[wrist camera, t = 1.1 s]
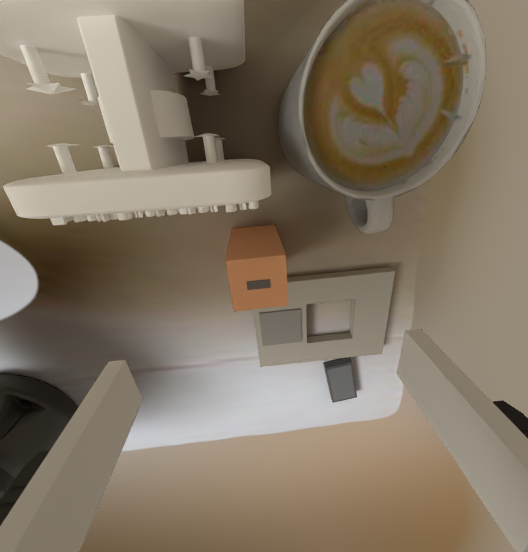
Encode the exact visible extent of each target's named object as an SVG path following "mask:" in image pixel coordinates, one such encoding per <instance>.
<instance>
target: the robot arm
mask: <svg viewBox="0 0 528 552" xmlns="http://www.w3.org/2000/svg"><path fill="white" fill-rule="evenodd" d="M397 375H398V376H399V378H400V379H401V381H402V382H403V384H404V385H405V386H406V388H407V389H408V391H409V392H410V394H411V395H412V397H413V398H414V400H415V401H416V403H417V404H418V406H419V407H420V409H421V410H422V412H423V413H424V415H425V416H426V418H427V419H428V421H429V422H430V424H431V425H432V427H433V428H434V430H435V431H436V433H437V434H438V436H439V437H440V439H441V440H442V442H443V443H444V445H445V446H446V448H447V449H448V451H449V452H450V454H451V455H452V457H453V458H454V459H455V461H456V463H457V464H458V466H459V467H460V469H461V470H462V472H463V473H464V475H465V476H466V478H467V479H468V481H469V482H470V484H471V485H472V487H473V488H474V490H475V491H476V493H477V494H478V496H479V497H480V499H481V500H482V502H483V503H484V505H485V506H486V508H487V509H488V511H489V512H490V514H491V515H492V516H493V518H494V520H495V521H496V523H497V524H498V525H499V527H500V528H501V530H502V531H503V533H504V534H505V536H506V538H507V539H508V540H509V542H510V543H511V545H512V546H513V548H514V550H515V551H516V552H528V418H527V417H526V416H524V414H523V413H521V412H520V411H518V410H517V409H515V408H514V407H512V406H510V405H509V404H507V403H506V402H504V401H495V402H492V401H491V400H490V399H489V398H488V397H487V396H486V395H485V394H484V393H483V392H482V391H481V390H480V389H479V388H478V387H477V386H476V385H475V384H474V383H473V382H472V381H471V380H470V379H469V378H468V377H467V376H466V375H465V374H464V372H462V370H461V369H460V368H459V367H457V365H456V364H455V363H454V362H453V361H452V360H451V359H450V358H449V357H448V356H447V355H446V354H445V353H444V352H443V351H442V350H441V349H440V348H439V347H438V346H437V345H436V344H435V343H434V342H433V341H432V340H431V338H430V337H429V336H428V335H427V334H426V333H425V332H424V331H423V330H422V329H418V330H408V331H405V335H404V340H403V344H402V349H401V354H400V359H399V364H398V368H397ZM142 401H143V399H142V397H141V395H140V392H139V390H138V388H137V385H136V383H135V381H134V379H133V376H132V374H131V372H130V369H129V367H128V365H127V362H126V360H118V361H109V362H108V363H107V365H106V366H105V368H104V369H103V371H102V372H101V374H100V375H99V377H98V378H97V380H96V382H95V383H94V385H93V386H92V388H91V389H90V391H89V392H88V394H87V395H86V397H85V398H84V400H83V401H82V403H81V404H80V406H79V407H78V408H77V407H76V405H75V404H74V403H73V402H72V401H71V399H69V398H68V397H67V396H66V395H65V394H63V393H62V392H61V391H59V390H58V389H56V388H54V387H52V386H50V385H48V384H46V383H44V382H41V381H38V380H35V379H32V378H28V377H24V376H19V375H11V374H0V552H79V551H80V548H81V546H82V544H83V541H84V539H85V537H86V534H87V532H88V529H89V527H90V524H91V522H92V520H93V517H94V515H95V513H96V510H97V508H98V505H99V503H100V501H101V498H102V496H103V494H104V491H105V489H106V486H107V484H108V482H109V479H110V477H111V475H112V472H113V470H114V467H115V465H116V463H117V460H118V458H119V455H120V453H121V451H122V448H123V446H124V444H125V441H126V439H127V437H128V434H129V432H130V429H131V427H132V425H133V422H134V420H135V417H136V415H137V413H138V410H139V408H140V406H141V403H142Z"/></svg>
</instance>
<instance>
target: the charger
mask: <svg viewBox="0 0 528 552" xmlns="http://www.w3.org/2000/svg"><path fill="white" fill-rule="evenodd" d="M226 266H227V272H228V278H229V284H230V290H231V296H232V302H233V308H234V311H242V310H251V309H261V308H270V307H280V306H288V287H287V267H286V254H285V251H284V248H283V246H282V243H281V240H280V237H279V235H278V232H277V229H276V227H275V224H274V225H264V226H254V227H244V228H234V229H232V231H231V236H230V241H229V246H228V252H227V257H226Z"/></svg>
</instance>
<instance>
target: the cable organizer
mask: <svg viewBox="0 0 528 552" xmlns="http://www.w3.org/2000/svg"><path fill="white" fill-rule="evenodd" d="M0 55H2V56H5V57H7V58H10V59H13V60H15V61H18V62H20V63H23V64H25V65H27V66H28V68H29V71H30V73H31V76H32V78H33V81H34V83H27V82H25V83H27V84H29V85H32V86H34V87H30V88H26V89H29V90H34V91H38V92H43V93H47V94H52V95H53V94H57V93H62V92H66V91H71V90H75V89H74V88H68V87H62V86H61V84H60V83H52V84H51V83H50V81H49V78H48V75H47V73H49V74H52V75H56V76H62V77H70V78H82V80H83V83H84V87H85V90H86V93H87V96H88V100H89V101H82V100H80V101H82V102H84V103H81V104H85V105H92V106H98V105H100V109H101V112H102V116H103V119H104V122H105V126H106V129H107V133H108V136H109V139H110V143H113V146H112V145H100V146H95V147H94V148H98V150H99V154H100V157H101V160H102V163H103V166H104V169H97V170H89V171H81V172H76V169H75V166H74V164H73V161H72V158H71V155H70V153H69V150H68V147H71V146H81V145H76V144H67V143H58V144H52V145H46V146H49V147H53V149H54V152H55V154H56V157H57V159H58V162H59V165H60V167H61V170H62V172H63V174H58V175H50V176H42V177H34V178H28V179H22V180H18V181H14V182H10V183H8V184H5V185H4V186H3V188H4V190H5V192H6V194H7V196H8V198H9V200H10V202H11V204H12V206H13V208H14V210H15V212H16V214H17V216H19V217H22V218H32V219H45V218H50V220H51V222H52V224H53V225H66V224H67V222H69V221H72V220H74V222H82V221H85V220H88V221H95V220H98V222H100V221H102V220H103V222H106V221H108V220H110V219H111V220H114V219H118V220H119V221H120V220H128V219H131V218H133V217H134V216H133V212H134V215H135V218H137V217H139V218H141V217H143V214H144V213H146V217H152V216H155V215H157V216H158V217H160V216H164V213H165V212H167V214H168V215H175V214H177V213H178V211H179V212H180V214H187V210H188V214H190V215H191V214H193V213H196V212H195V210H198V212H199V213H205V212H208V211H209V210H210V209H209V206H210V208H211V212H213V211H214V212H218V208H217V206H222V205H225V207H226V212H235V211H236V210H237V208H236V204H239V207H240V210H242V209H243V210H247V208H246V203H248V208H249V209H257V208H258V207H259V202H258V201H259V200H262V199H265V198H267V197H269V196H270V195H271V176H270V166H269V165H267V164H266V163H265V162H263V161H261V160H257V159H230V160H224V154H223V146H222V139H225V138H220V137H215V138H214V136H219V135H218V134H210V133H205V134H202V135H198V136H195V137H203V142H204V149H205V155H206V161H201V162H188V155H187V150H186V144H185V140H190V139H193V138H194V133H193V128H192V124H191V119H190V114H189V109H188V105H187V100H186V98H185V97H184V96H183V95H180V94H178V93H176V88H175V82H174V77H173V73H179V72H190V74H187V75H184V76H186V77H192V78H195V79H196V80H197V81H198V80H200V79H201V78H205V82H206V90H204V93H199V94H202V95H208V96H213V95H221V94H219V93H217V92H218V91H219V90H217V91H216V88H215V79H214V71H213V70H223V69H229V68H233V67H236V66H239V65H241V64H242V63H244V62H245V22H244V0H0ZM93 78H94V79H93ZM94 80H95V83H94ZM95 84H96V86H95ZM96 87H97V89H96ZM97 91H98V93H97ZM98 94H99V96H98ZM108 147H114V149H115V153H116V156H117V159H118V163H119V166H120V167H116V168H114V166H113V162H112V159H111V156H110V152H109V149H108Z"/></svg>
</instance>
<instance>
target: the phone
mask: <svg viewBox="0 0 528 552" xmlns="http://www.w3.org/2000/svg"><path fill="white" fill-rule="evenodd" d="M324 368H325V372H326V377H327V382H328V386H329V391H330V396H331V399H332V402H338V401H342V400H347V399H351V398H355V397H357V394H356V387H355V380H354V373H353V367H352V361H351V359H350V357H346V358H341V359H337V360H333V361H329V362H325V363H324Z"/></svg>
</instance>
